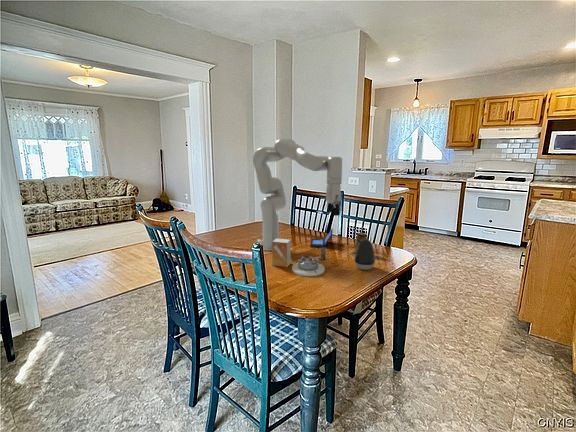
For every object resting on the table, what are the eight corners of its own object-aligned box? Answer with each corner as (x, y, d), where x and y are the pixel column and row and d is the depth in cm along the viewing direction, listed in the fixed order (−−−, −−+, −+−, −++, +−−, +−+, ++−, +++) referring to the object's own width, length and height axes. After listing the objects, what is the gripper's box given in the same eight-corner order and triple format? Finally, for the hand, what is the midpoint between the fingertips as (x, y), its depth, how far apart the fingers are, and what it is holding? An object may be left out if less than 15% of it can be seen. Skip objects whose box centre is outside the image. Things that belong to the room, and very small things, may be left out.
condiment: (369, 254, 181) (370, 234, 179) (358, 257, 177) (360, 236, 174) (360, 251, 187) (361, 231, 185) (349, 253, 183) (350, 233, 180)
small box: (272, 265, 162) (272, 241, 160) (276, 261, 168) (276, 238, 166) (287, 267, 160) (287, 242, 157) (290, 263, 166) (291, 239, 163)
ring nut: (307, 272, 149) (307, 256, 148) (294, 266, 157) (294, 251, 155) (331, 265, 159) (332, 250, 157) (318, 259, 167) (318, 245, 165)
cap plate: (287, 273, 152) (287, 270, 152) (298, 262, 167) (298, 260, 166) (319, 278, 146) (319, 275, 146) (328, 267, 161) (328, 264, 160)
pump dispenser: (361, 263, 167) (363, 235, 164) (378, 268, 159) (380, 239, 156) (349, 267, 161) (350, 238, 157) (366, 273, 153) (368, 243, 150)
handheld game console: (311, 240, 209) (312, 227, 208) (332, 241, 207) (332, 228, 206) (309, 247, 194) (310, 233, 192) (331, 248, 192) (332, 234, 190)
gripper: (322, 179, 170) (321, 211, 174) (332, 182, 154) (331, 217, 157) (335, 179, 172) (334, 210, 175) (347, 182, 155) (346, 216, 159)
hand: (333, 213), depth 166 cm, fingers open, 9 cm apart
